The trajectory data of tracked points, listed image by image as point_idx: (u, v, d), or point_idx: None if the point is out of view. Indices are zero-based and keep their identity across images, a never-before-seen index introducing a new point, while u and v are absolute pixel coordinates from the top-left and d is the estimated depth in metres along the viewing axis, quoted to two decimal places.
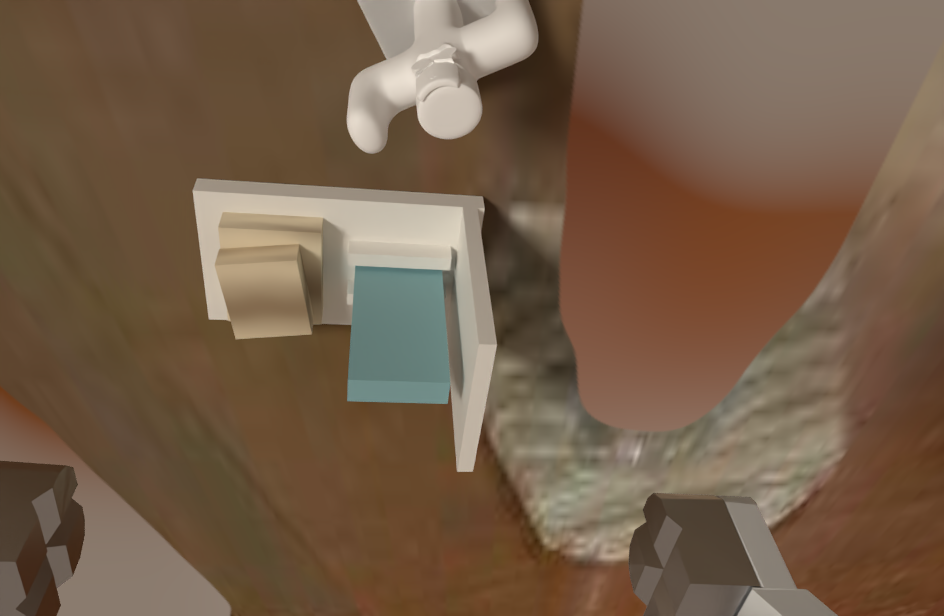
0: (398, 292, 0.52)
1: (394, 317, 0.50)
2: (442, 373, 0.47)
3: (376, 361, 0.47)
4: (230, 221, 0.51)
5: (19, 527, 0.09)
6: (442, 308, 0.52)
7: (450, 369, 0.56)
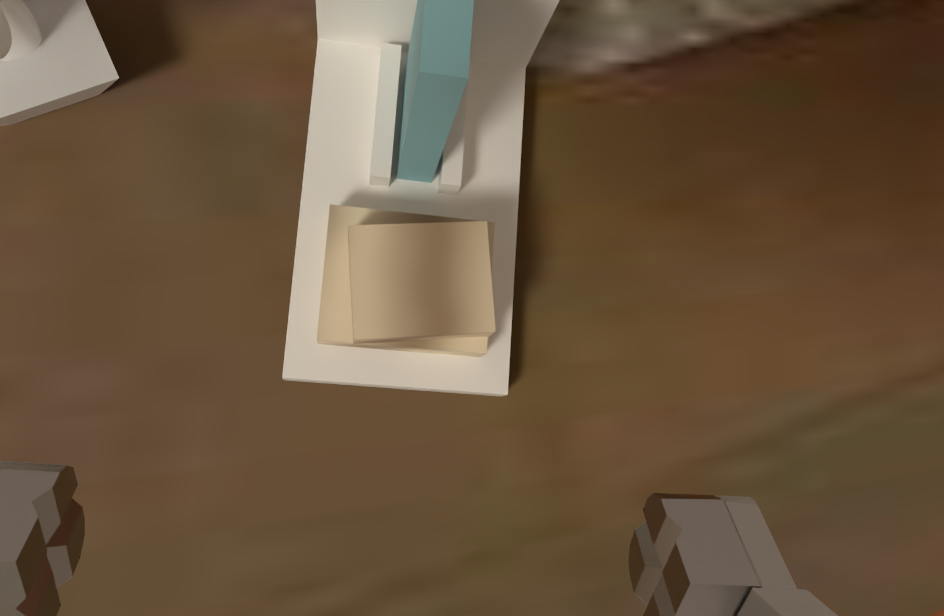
0: (406, 92, 0.37)
1: None
2: None
3: (418, 50, 0.30)
4: None
5: (19, 527, 0.09)
6: (414, 20, 0.36)
7: (540, 20, 0.37)
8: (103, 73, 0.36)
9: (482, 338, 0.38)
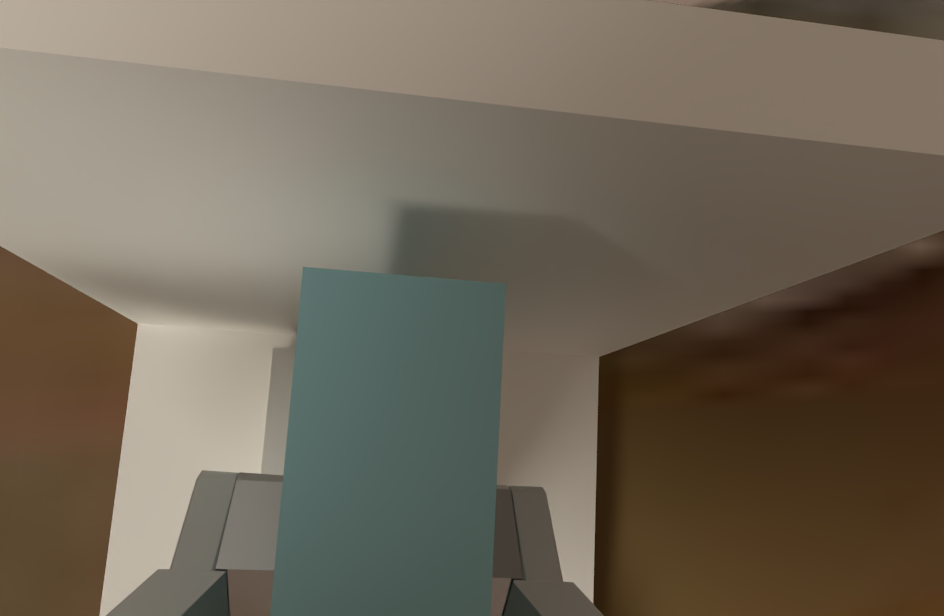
0: None
1: None
2: None
3: None
4: None
5: None
6: None
7: (654, 326, 0.15)
8: None
9: None
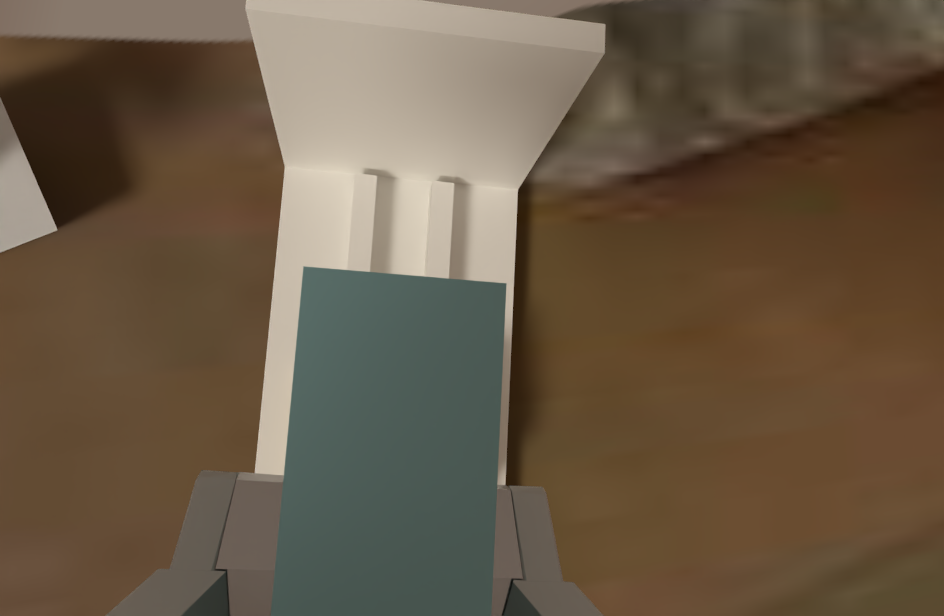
0: None
1: None
2: None
3: None
4: None
5: None
6: None
7: (531, 152, 0.33)
8: (39, 225, 0.32)
9: None
